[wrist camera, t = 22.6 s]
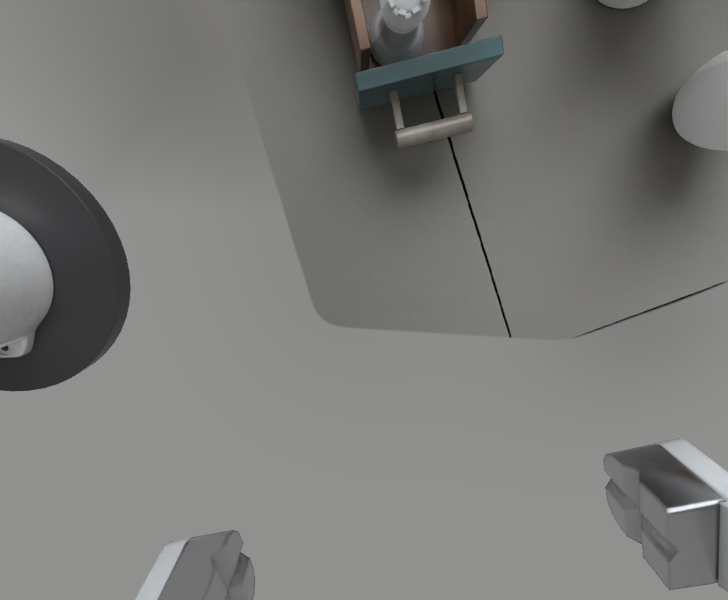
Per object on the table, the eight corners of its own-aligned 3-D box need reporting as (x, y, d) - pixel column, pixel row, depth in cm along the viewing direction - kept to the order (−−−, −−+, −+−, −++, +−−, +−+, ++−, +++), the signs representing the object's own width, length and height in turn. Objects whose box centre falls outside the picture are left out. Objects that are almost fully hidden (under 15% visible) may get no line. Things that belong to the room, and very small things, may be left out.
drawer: (482, 132, 34) (512, 118, 28) (369, 160, 35) (372, 153, 28) (449, -110, 30) (474, -195, 23) (318, -73, 30) (307, -146, 24)
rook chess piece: (378, 80, 32) (385, 44, 24) (359, 22, 31) (360, -35, 23) (429, 59, 32) (452, 17, 24) (412, -1, 31) (430, -65, 23)
